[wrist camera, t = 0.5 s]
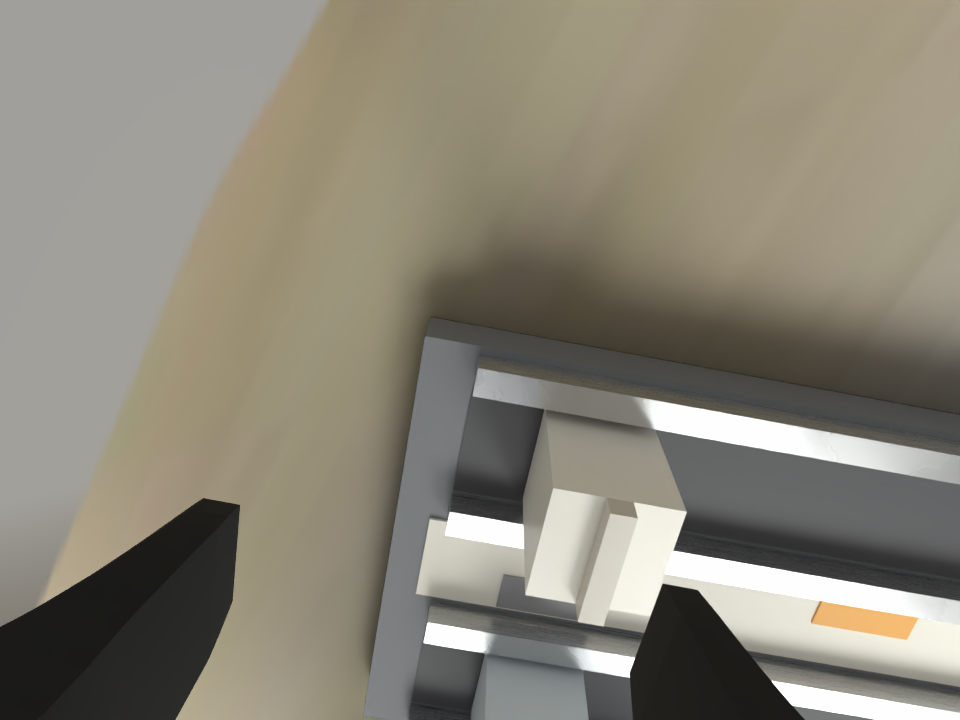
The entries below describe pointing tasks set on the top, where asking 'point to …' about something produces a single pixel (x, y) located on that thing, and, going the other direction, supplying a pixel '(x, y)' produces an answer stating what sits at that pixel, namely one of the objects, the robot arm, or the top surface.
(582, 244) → the top surface
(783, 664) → the switch panel
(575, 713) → the tab
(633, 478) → the tab
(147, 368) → the top surface
